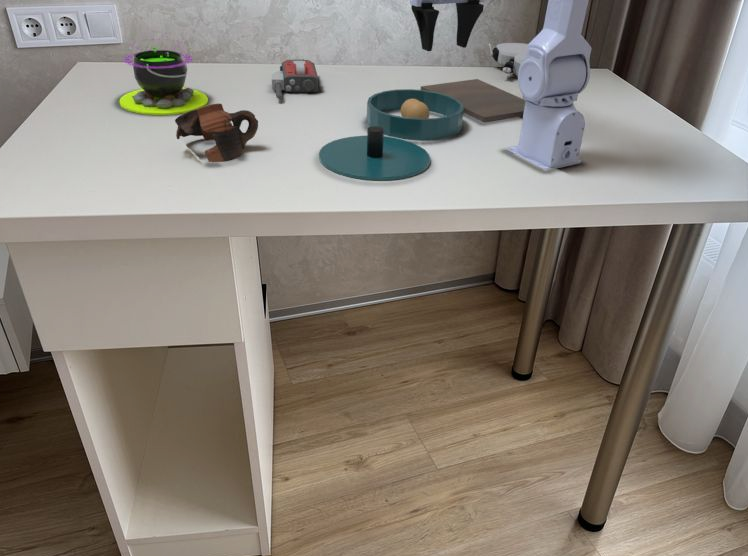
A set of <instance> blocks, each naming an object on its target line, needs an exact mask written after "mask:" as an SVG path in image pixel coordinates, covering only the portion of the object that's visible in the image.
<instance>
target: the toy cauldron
mask: <svg viewBox="0 0 748 556" xmlns="http://www.w3.org/2000/svg"><path fill="white" fill-rule="evenodd" d="M154 32H155V33H157V32H158V31H152V33H154ZM160 33H163V32H162V31H160ZM145 34H146V32H143V33H142V36H145V37H146V39H144V40H143V39H141V42H144V41H149V36H148V35H147V36H146V35H145ZM166 35H167V32H164V35H162V36H160V38H159V36H156V38H153V37H152V36H150V38H152V39H151V41H153V40H157V41H158V40H159V41H160V40H161V41H164V40H165V41H167V39H164V38H163V37H165V36H166ZM161 38H162V39H161ZM173 42H174V43H177V44H178V45H177V46H176V47H172V48H170V49H169V48H168V49H157V47H156V46H153V47H152V49H149V50H144V49H143V48H141V51H140V52H135V53H130V54H128V55H127V56H124V57H123V58H122V61H123V63H124V64H127V65H128V66H131V67H132V68H133V74H134V79H135V81H136V83H137V84H138V87H139V88H140V89H137V90H134V91H130V92H128V93H126V94H124V95H123V96H121V97H119V98H120V99H119V105H120V107H121V108H122V109H124V110H126V111H128V112H131V113H135V114H142V115H149V116H171V115H180V114H181V115H182V114H184V113H187V112H189V111H191V110H194V109H197V108H200V107H204V106H207V105H208V102H209V99H208V96H207V94H205V93H203V92H201V91H199V90H196V89H192V88H190V87H185V83H186V79H187V75H188V64H189V63H191V62H193V60H194V59H193V57H192V56H191V55H190V54H187V53H183V52H179V51H173V50H175V49H178V48H179V47H181V43H180V42H179V41H175V40H173ZM136 43H137V41H135V42H132V45H131V47H132V48H133V49H137V50H140V48H137V47H135V44H136ZM182 57H184V58H185V60H184V59H183V58H182ZM132 58H133V61H132Z"/></svg>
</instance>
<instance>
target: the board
mask: <svg viewBox="0 0 748 556" xmlns="http://www.w3.org/2000/svg"><path fill="white" fill-rule="evenodd" d="M420 90H426V91H431V92H437V93H441V94H445V95H448V96H451V97H453V98H455V99H457V100H459V101H460V102H461V103H462V104H463V114H465V115H467V116H470V117H471V118H474V119H476V120H478V121H480V122H482V123H489V122H495V121H501V120H506V119H512V118H520V119H523V114H524V107H525V101H526V100H525V99H523V98H522V97H520V96H517V95H515V94H512V93H510V92H508V91H506V90H504V89H502V88H499V87H497V86H495V85H492V84H491V83H488V82H485V81H483V80H482V79H479V78H473V79H467V80H466V79H465V80H459V81H458V80H457V81H451V82H444V83H436V84H428V85H422V86H420Z"/></svg>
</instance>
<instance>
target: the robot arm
mask: <svg viewBox="0 0 748 556" xmlns="http://www.w3.org/2000/svg"><path fill="white" fill-rule="evenodd" d="M589 1H590V0H548V1H547V7H546V12H545V17H544V21H543V22H544V23H543V27H542V29H541V31H539V32H538V34H536V36H535V37H534V38H533V39H532V40H531V41H530V42H529V43H528V44H529V45H528V47H527V52H526V56H525V58H524V60H523V62H522V63H521V65H520V68H519V72H518V78H517V83H518V88H519V91H520V93H521V95H522V97H521V98H522V99H524V100H526V101H525V107H524V114H523V118H522V121H521V127H520V134H519V140H518V145H513V146H510V147H509V146H508V147H506V148H505V149H506V150H507V151H509V152H511V153H513V154H515V155H517V156H518V157H521V158H523V159H524V160H526V161H528V162H530V163H532V164H534V165H535V166H538V167H539V168H541V169H544V170H547V169H552V168H555V169H560V168H565V167H569V166H575V165H578V164H579V165H580V164H581V163H582V160H581V159H580V158H579V156H580V151H581V147H582V143H583V137H584V133H585V128H586V119H585V116H584V114H583V113H581V112H580V111H579V110H577V108H576V107H575V104H574V102H577V101H578V96H579V94H580V93H582V92H584V90H585V89H586V88H587V86H588V84H589V82H590V79H591V64H590V59H591V58H590V57H591V53H592V46H591V45H590V43H589V42H588V41H587V40H586V39H585V38H584V36H583V35H582V32H583V27H584V23H585V18H586V15H587V11H588V5H589ZM485 2H486V0H409V5H411V8H410V9H411V11H412V14H413V16H414V19H415V21H416V25H417V28H418V32H419V37H420V42H421V49H422V50H424V51H426V52H432V50H433V47H434V39H435V37H434V36H435V29H436V24H437V22H438V21H437V20H438V17H439V14H440V11H439V9H435V6H434V5H445V4H446V5H447V4H455V7H456V16H457V17H456V18H457V19H456V21H457V23H456V24H457V26H456V27H457V28H456V46H458V47H461V48H467V46H468V43H469V41H470V37H471V34H472V32H473V30H474V27H475V25H476V23H477V21H478V20H479V18H480V17H481V15H482V14H483V12H484V7H485V5H484V4H481V3H485Z"/></svg>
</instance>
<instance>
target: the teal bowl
mask: <svg viewBox="0 0 748 556" xmlns="http://www.w3.org/2000/svg"><path fill="white" fill-rule="evenodd" d="M408 99H417V100H419V101H420V102H422V103H424V104H425V105H426V106H427V107H428V109H429V113H430V112H431V113H436V114H438V115H443V116H440V117H431V118H430V117H429V118H425V119H419V118H406V117H402V116H400V115H393V114H391V113H387V112H390V111H397V110H401V107H402V105H403V103H404V102H405V101H406V100H408ZM463 117H464V112H463V104H462V103H461V102H460V101H459V100H457V99H455V98H453V97H451V96H448V95H445V94H441V93H437V92H431V91H426V90H421V89H411V88H408V89H405V88H404V89H403V88H402V89H391V90H389V89H388V90H383V91H379V92H377V93H373V94H372V95H370V96H369V97H368V99H367V102H366V124H367V125H368V127H371V126H378V127H382V128H383V129H384V136H386V137H391V138H397V139H401V140H407V141H408V140H409V141H436V140H442V139H447V138H451V137H453V136H455V135H458V133H459V132H461V131H462V128H463V120H464V119H463Z"/></svg>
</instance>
